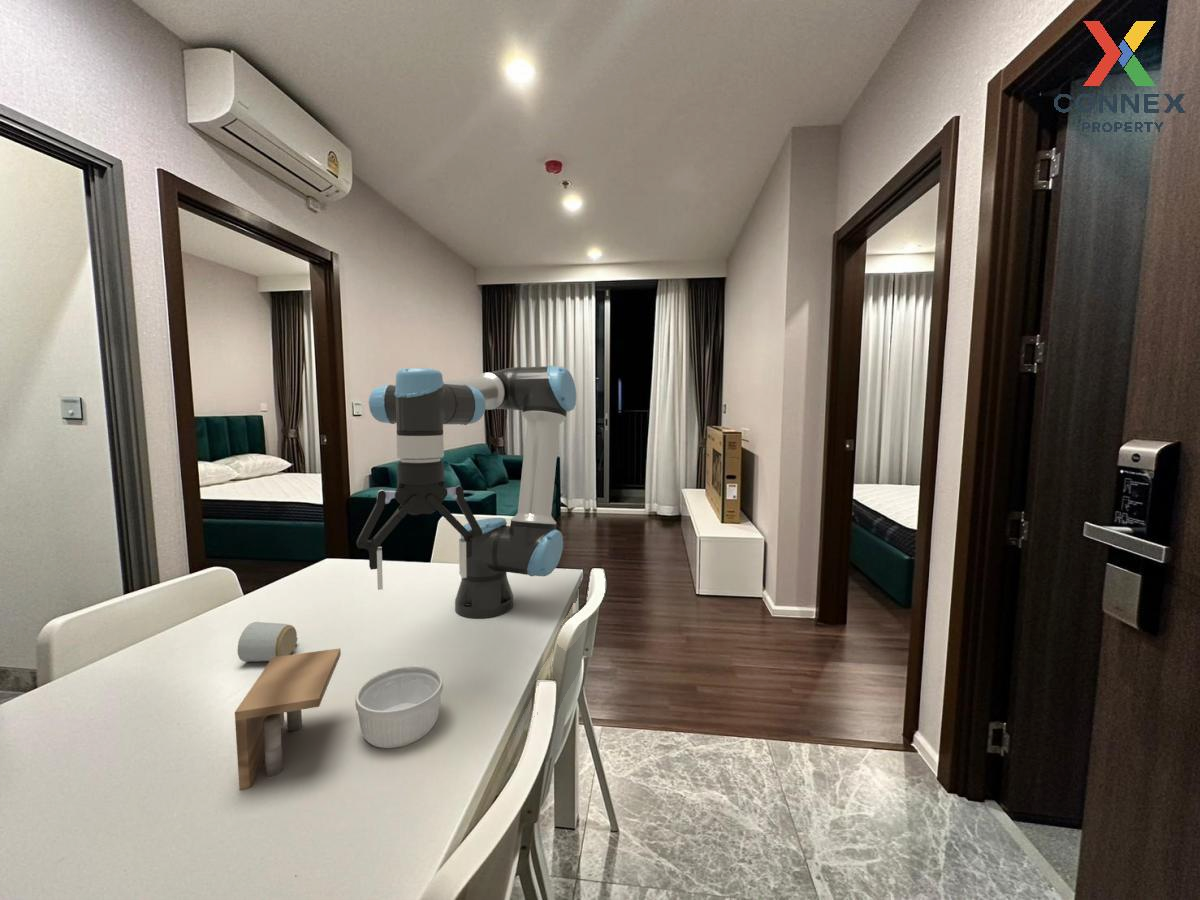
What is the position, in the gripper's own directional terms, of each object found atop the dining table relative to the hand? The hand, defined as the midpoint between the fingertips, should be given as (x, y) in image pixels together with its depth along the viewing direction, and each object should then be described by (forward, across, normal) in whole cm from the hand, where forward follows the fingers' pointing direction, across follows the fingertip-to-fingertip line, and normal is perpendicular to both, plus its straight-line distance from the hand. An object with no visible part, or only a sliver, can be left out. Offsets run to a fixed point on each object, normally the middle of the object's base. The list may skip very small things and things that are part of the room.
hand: (423, 581), depth 83 cm
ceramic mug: (+22, +27, -31) cm, 47 cm away
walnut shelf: (+22, +19, +3) cm, 30 cm away
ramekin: (+23, +4, +5) cm, 23 cm away
